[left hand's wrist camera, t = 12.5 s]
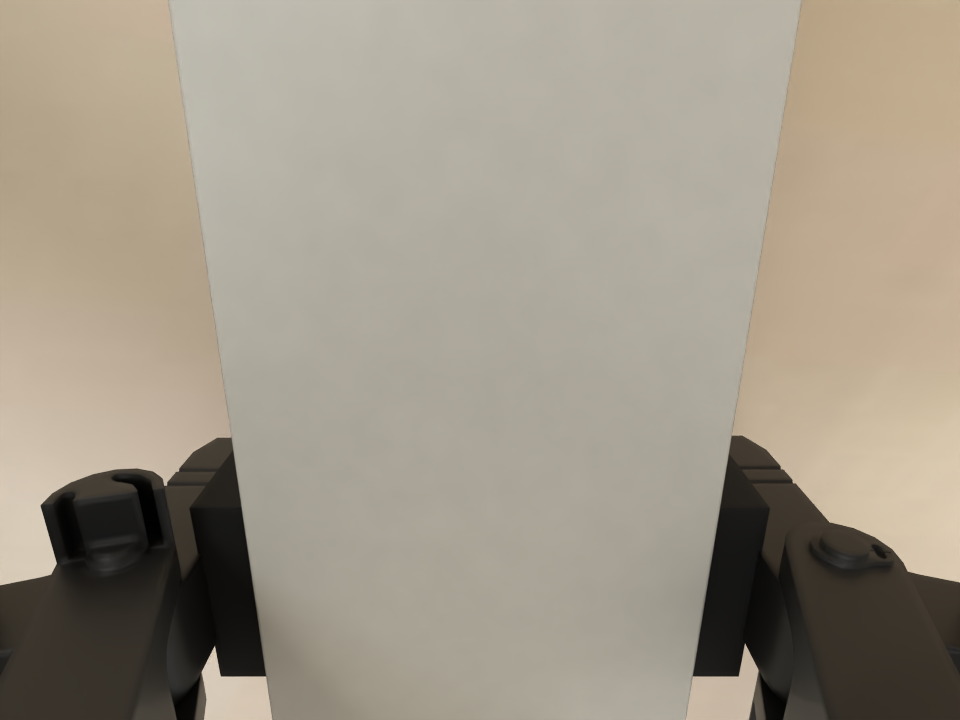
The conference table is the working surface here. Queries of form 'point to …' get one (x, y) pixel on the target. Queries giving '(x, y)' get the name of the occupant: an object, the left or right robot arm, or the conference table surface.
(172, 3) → the beam
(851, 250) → the conference table surface
